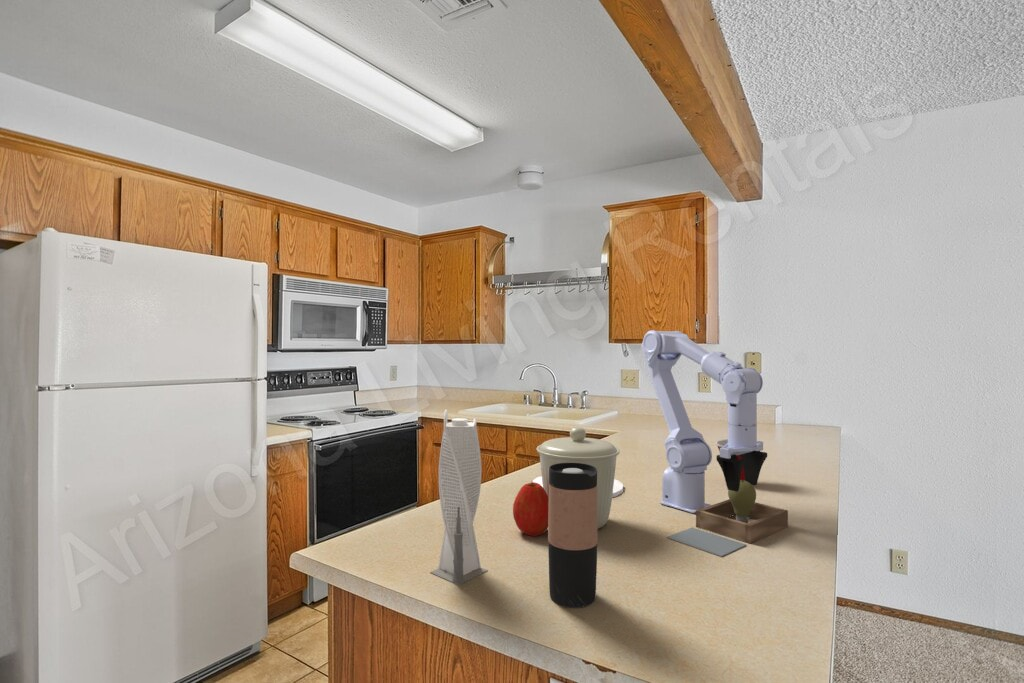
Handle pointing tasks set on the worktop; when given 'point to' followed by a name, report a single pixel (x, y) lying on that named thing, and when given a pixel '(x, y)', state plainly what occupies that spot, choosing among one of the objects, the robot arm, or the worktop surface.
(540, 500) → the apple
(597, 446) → the canister
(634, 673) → the worktop surface
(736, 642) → the worktop surface
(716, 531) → the walnut box
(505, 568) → the worktop surface
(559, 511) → the travel mug
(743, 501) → the light bulb
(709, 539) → the pad
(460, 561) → the skyscraper
